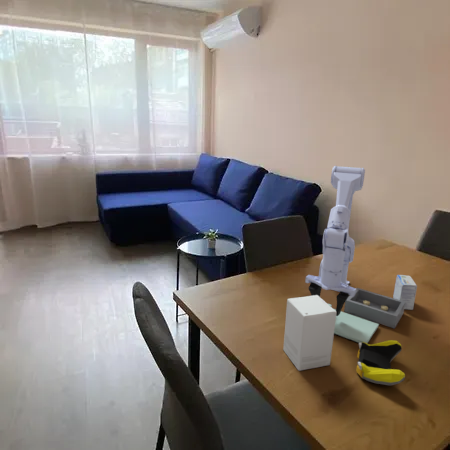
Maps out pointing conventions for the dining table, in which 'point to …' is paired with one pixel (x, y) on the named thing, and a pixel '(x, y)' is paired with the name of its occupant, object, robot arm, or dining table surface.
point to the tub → (375, 307)
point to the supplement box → (309, 332)
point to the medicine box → (405, 290)
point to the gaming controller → (379, 362)
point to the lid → (354, 327)
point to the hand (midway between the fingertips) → (326, 310)
